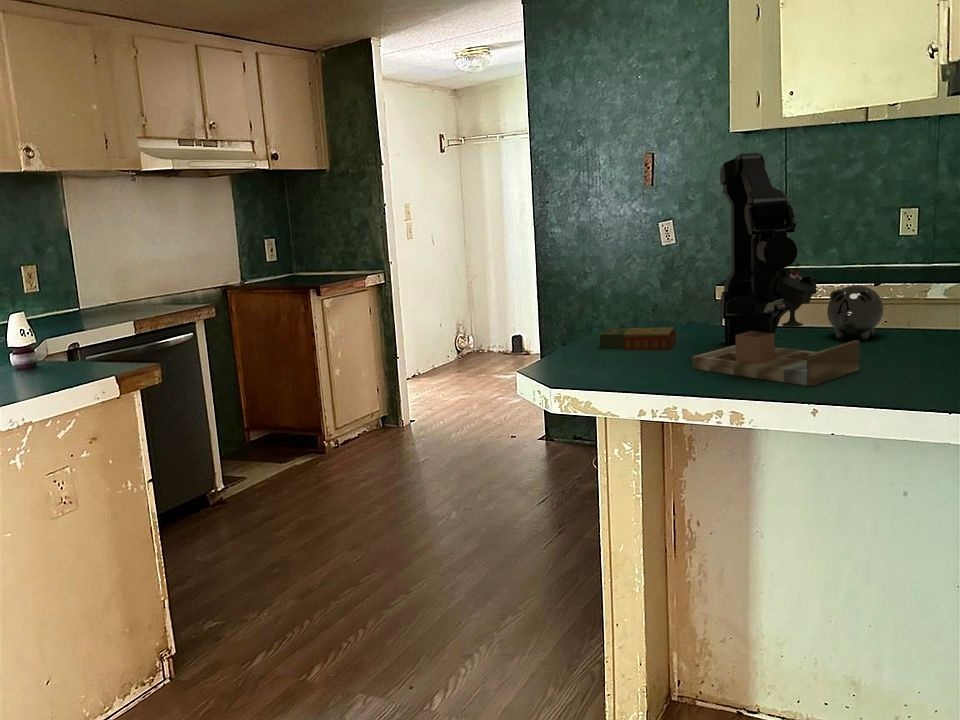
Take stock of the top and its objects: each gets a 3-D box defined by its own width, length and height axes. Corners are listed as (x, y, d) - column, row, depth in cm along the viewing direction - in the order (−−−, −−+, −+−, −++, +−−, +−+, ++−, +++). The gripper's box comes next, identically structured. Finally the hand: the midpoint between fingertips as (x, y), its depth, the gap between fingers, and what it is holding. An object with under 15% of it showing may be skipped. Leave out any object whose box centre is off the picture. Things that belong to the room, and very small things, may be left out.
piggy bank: (819, 342, 180) (820, 290, 178) (834, 330, 192) (835, 281, 190) (875, 344, 174) (876, 290, 172) (887, 332, 186) (888, 281, 184)
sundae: (807, 322, 205) (808, 262, 202) (805, 327, 199) (806, 265, 196) (779, 322, 208) (779, 263, 205) (776, 327, 202) (776, 265, 199)
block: (735, 361, 156) (735, 335, 156) (751, 356, 159) (751, 330, 158) (759, 363, 153) (758, 337, 152) (774, 359, 156) (774, 333, 155)
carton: (669, 351, 184) (669, 332, 183) (599, 351, 190) (598, 333, 189) (676, 344, 191) (675, 326, 190) (608, 344, 197) (607, 326, 197)
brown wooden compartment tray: (692, 368, 164) (692, 341, 163) (741, 355, 173) (740, 329, 172) (812, 386, 144) (812, 355, 143) (859, 369, 153) (859, 340, 152)
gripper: (777, 270, 143) (778, 358, 146) (834, 259, 154) (833, 341, 157) (723, 269, 152) (724, 352, 155) (780, 258, 163) (781, 336, 166)
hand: (768, 345), depth 158 cm, fingers closed
